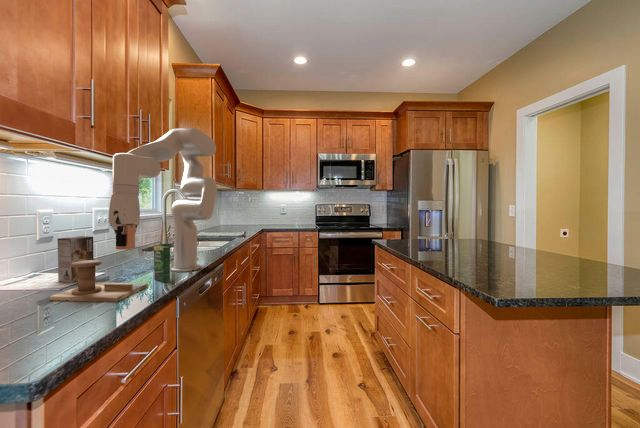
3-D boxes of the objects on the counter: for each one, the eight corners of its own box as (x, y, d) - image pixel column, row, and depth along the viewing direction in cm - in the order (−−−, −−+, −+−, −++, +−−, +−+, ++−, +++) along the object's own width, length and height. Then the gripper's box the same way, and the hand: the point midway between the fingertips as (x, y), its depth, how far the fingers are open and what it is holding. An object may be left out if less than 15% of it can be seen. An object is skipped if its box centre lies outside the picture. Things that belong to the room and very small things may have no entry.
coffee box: (80, 276, 124) (80, 235, 124) (94, 277, 123) (94, 236, 122) (57, 281, 115) (57, 238, 115) (71, 282, 114) (71, 238, 113)
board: (91, 285, 110) (91, 276, 110) (148, 286, 110) (148, 277, 110) (49, 300, 93) (49, 289, 93) (116, 301, 93) (116, 291, 93)
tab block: (123, 247, 107) (123, 224, 107) (135, 248, 107) (135, 224, 107) (115, 249, 103) (115, 224, 103) (128, 249, 103) (128, 225, 103)
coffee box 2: (153, 279, 121) (153, 245, 121) (160, 278, 124) (160, 244, 123) (162, 282, 116) (162, 247, 116) (170, 281, 118) (170, 247, 118)
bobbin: (83, 288, 103) (83, 260, 102) (107, 288, 103) (107, 260, 102) (65, 294, 95) (64, 264, 95) (90, 295, 95) (89, 264, 95)
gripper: (130, 191, 113) (129, 242, 114) (97, 189, 97) (96, 248, 97) (150, 192, 113) (150, 242, 114) (121, 189, 97) (120, 248, 97)
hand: (125, 244), depth 105 cm, fingers closed on tab block, 4 cm apart
